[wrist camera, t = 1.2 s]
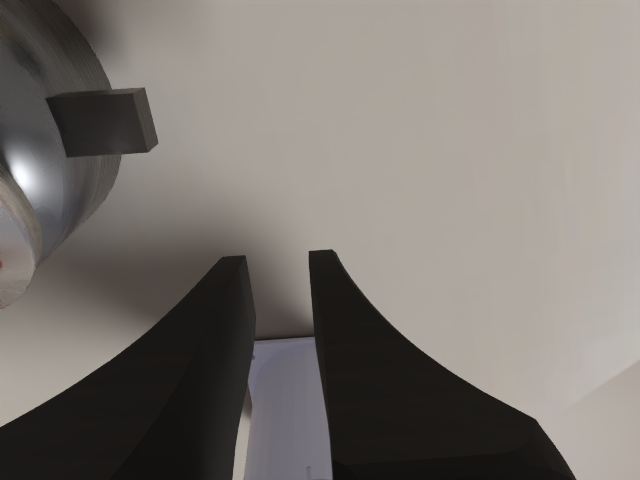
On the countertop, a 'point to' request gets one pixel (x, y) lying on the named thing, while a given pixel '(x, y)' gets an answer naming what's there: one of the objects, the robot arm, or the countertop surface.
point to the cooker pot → (62, 118)
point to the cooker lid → (16, 240)
